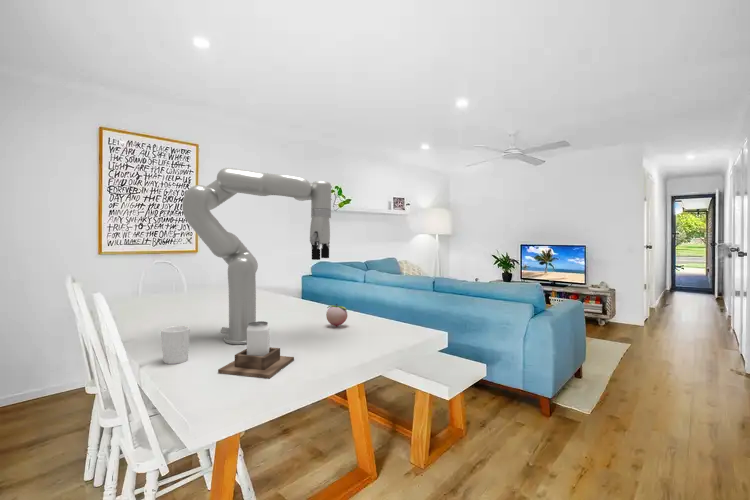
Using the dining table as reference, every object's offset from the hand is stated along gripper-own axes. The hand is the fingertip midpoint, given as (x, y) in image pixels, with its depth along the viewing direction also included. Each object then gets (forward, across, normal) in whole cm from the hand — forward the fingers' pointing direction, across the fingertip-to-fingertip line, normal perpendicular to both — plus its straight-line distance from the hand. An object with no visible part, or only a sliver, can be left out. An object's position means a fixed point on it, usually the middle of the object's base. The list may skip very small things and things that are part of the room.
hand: (320, 258), depth 149 cm
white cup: (+31, +38, -33) cm, 59 cm away
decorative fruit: (+31, -17, +1) cm, 35 cm away
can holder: (+30, +36, -6) cm, 47 cm away
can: (+30, +36, -6) cm, 47 cm away
